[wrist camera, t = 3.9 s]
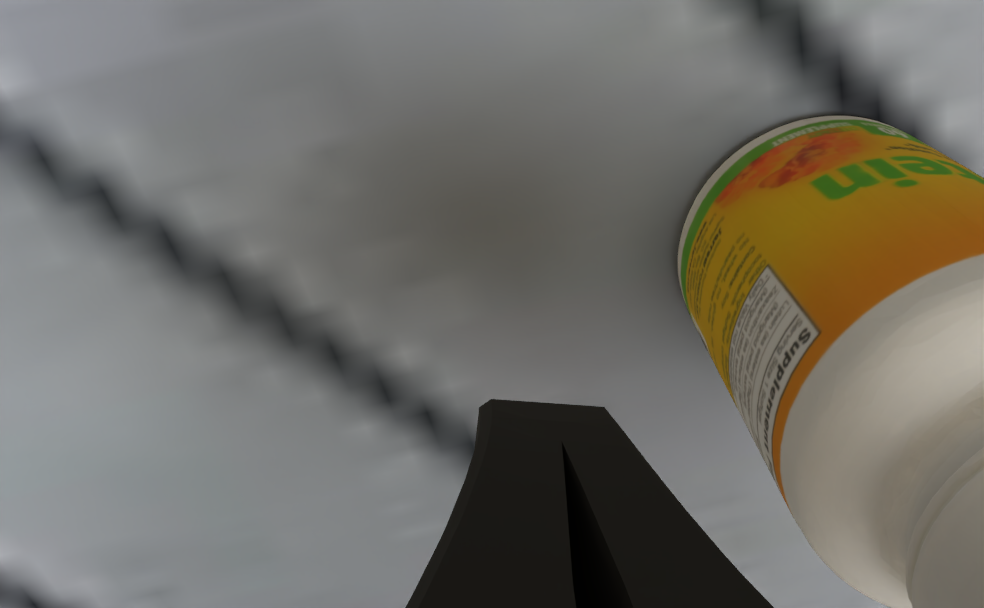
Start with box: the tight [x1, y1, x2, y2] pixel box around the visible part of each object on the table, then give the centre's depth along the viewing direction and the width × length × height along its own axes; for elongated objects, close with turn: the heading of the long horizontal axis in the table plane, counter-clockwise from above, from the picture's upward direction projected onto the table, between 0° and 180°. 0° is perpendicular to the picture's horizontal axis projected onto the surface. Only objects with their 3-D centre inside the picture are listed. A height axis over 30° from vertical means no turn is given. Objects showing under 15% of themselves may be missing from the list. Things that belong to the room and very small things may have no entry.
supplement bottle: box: [678, 116, 984, 608], centre depth 12 cm, size 5×5×10 cm
